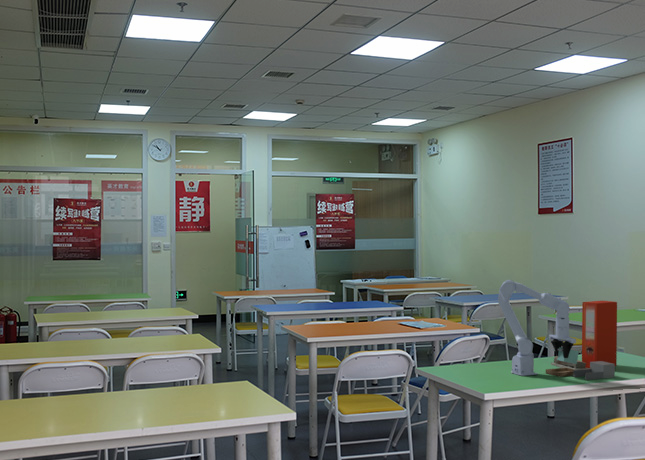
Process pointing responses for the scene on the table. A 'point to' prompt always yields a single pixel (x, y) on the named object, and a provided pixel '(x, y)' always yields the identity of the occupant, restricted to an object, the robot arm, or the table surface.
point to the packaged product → (569, 364)
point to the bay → (596, 371)
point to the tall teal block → (571, 358)
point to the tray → (560, 372)
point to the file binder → (599, 332)
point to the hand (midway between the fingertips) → (562, 357)
